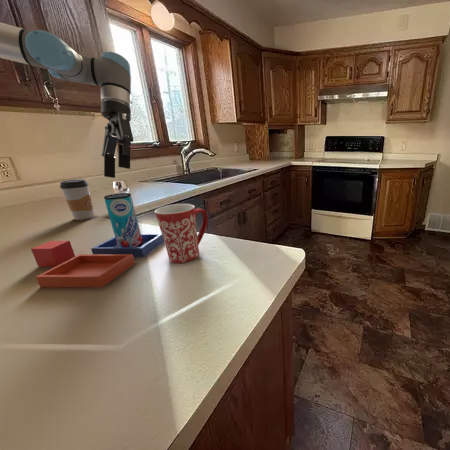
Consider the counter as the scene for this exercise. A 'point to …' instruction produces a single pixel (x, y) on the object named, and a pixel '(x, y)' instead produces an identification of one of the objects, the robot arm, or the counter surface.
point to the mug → (181, 231)
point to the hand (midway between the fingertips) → (116, 172)
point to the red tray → (86, 270)
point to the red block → (53, 253)
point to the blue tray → (112, 248)
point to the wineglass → (120, 187)
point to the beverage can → (123, 220)
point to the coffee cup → (78, 198)
